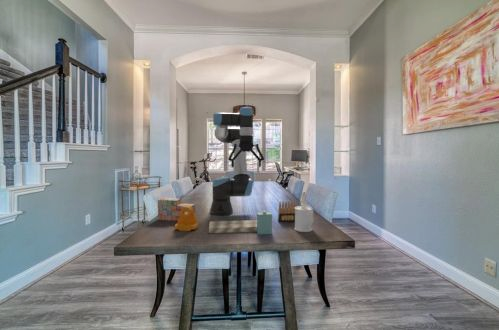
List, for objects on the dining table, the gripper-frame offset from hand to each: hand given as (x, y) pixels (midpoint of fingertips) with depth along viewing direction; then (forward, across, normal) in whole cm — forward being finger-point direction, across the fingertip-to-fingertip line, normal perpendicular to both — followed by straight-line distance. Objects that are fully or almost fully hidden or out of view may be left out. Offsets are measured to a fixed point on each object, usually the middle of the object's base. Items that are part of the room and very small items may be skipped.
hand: (246, 172), depth 146 cm
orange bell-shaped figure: (+29, -33, -8) cm, 44 cm away
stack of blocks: (+29, -41, +11) cm, 51 cm away
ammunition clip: (+29, +24, -1) cm, 38 cm away
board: (+29, -4, -10) cm, 31 cm away
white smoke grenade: (+29, +29, -16) cm, 44 cm away
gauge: (+29, +7, -14) cm, 33 cm away
